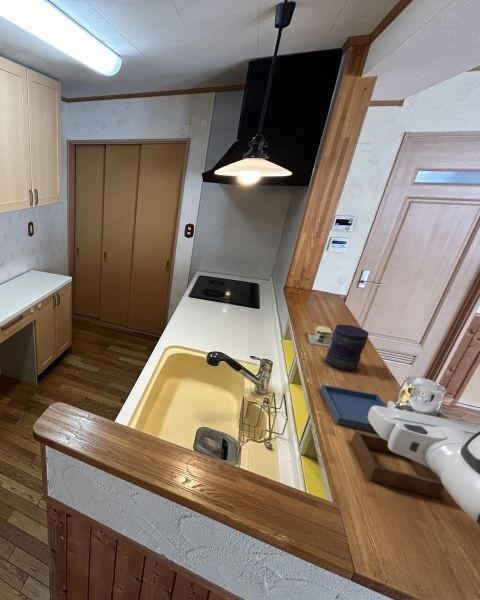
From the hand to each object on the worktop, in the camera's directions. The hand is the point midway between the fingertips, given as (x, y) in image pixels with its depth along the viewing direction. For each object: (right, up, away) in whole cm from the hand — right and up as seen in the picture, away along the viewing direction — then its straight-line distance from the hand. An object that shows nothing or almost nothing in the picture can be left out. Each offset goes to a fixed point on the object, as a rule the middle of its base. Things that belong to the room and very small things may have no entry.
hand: (412, 407), depth 76 cm
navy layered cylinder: (+22, 0, +49) cm, 54 cm away
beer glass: (0, -8, +2) cm, 8 cm away
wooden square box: (-1, -17, +5) cm, 17 cm away
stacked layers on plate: (+29, +7, +67) cm, 73 cm away
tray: (+8, -9, +24) cm, 27 cm away
